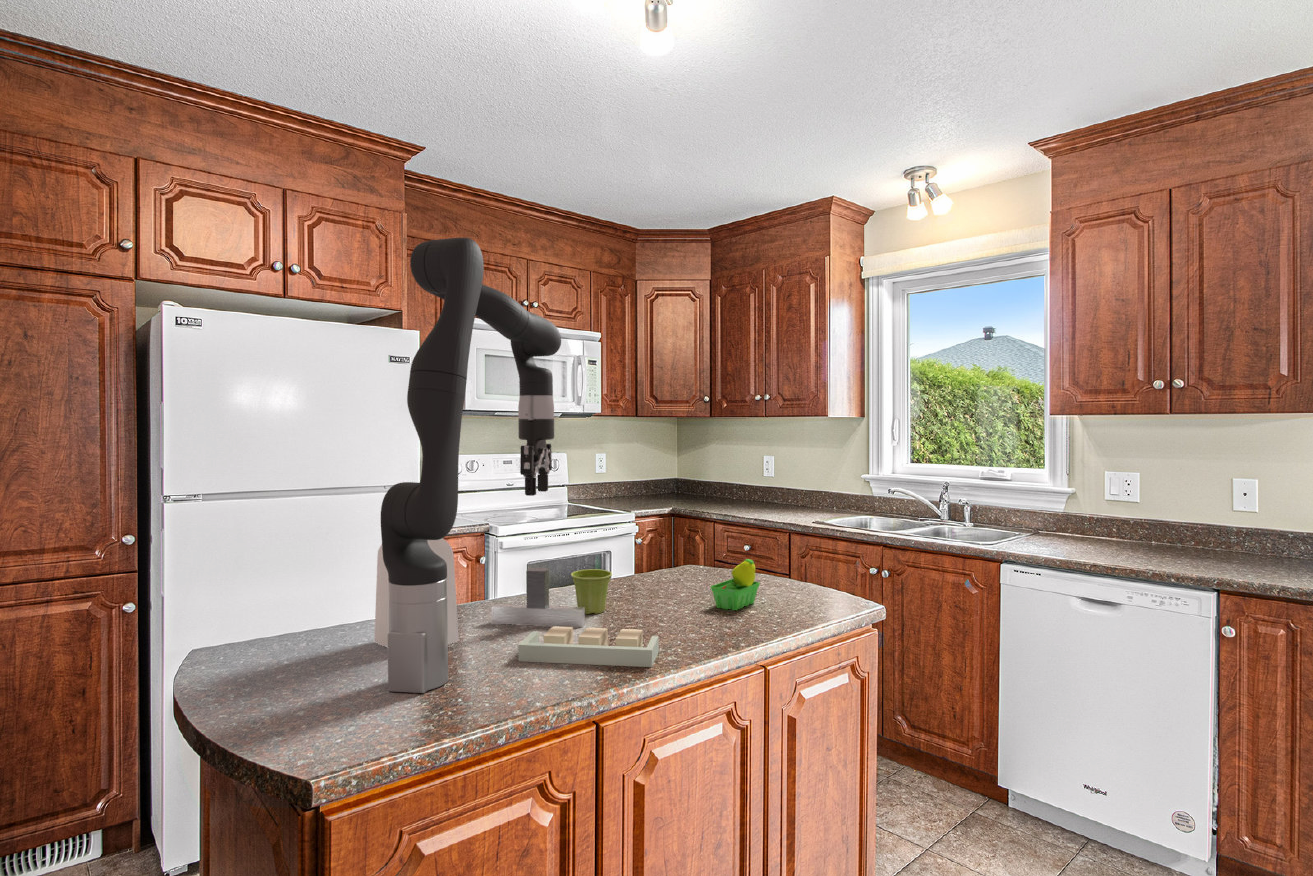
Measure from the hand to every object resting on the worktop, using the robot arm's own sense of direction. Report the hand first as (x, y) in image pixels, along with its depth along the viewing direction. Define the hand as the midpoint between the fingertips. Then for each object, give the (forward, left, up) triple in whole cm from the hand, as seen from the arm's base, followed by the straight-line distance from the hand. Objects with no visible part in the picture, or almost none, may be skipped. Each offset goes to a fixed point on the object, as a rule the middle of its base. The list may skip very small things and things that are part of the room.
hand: (536, 493), depth 152 cm
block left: (-17, -9, -28) cm, 34 cm away
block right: (-17, -23, -28) cm, 40 cm away
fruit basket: (+21, -42, -28) cm, 55 cm away
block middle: (-17, -16, -28) cm, 37 cm away
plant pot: (+12, -9, -28) cm, 32 cm away
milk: (-15, +20, -28) cm, 38 cm away
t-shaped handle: (0, 0, -28) cm, 28 cm away
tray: (-19, -16, -28) cm, 38 cm away
